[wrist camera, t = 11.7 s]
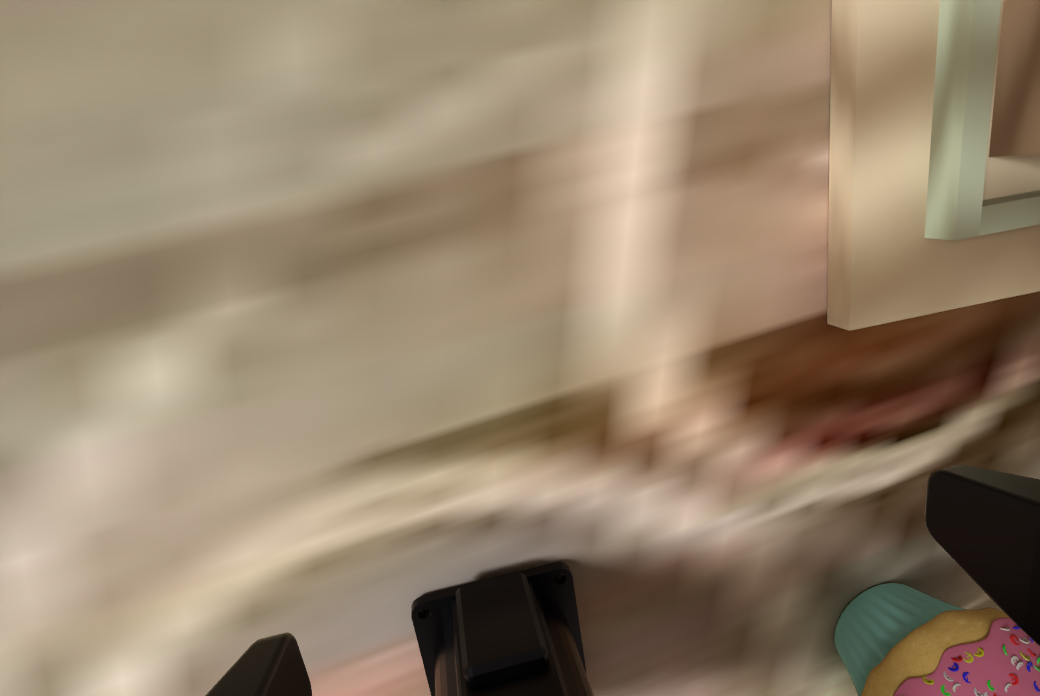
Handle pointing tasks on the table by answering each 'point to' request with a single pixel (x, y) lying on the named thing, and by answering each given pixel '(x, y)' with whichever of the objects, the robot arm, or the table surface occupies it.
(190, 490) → the table surface
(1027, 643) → the cupcake
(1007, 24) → the block
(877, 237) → the board
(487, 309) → the table surface
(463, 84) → the table surface
